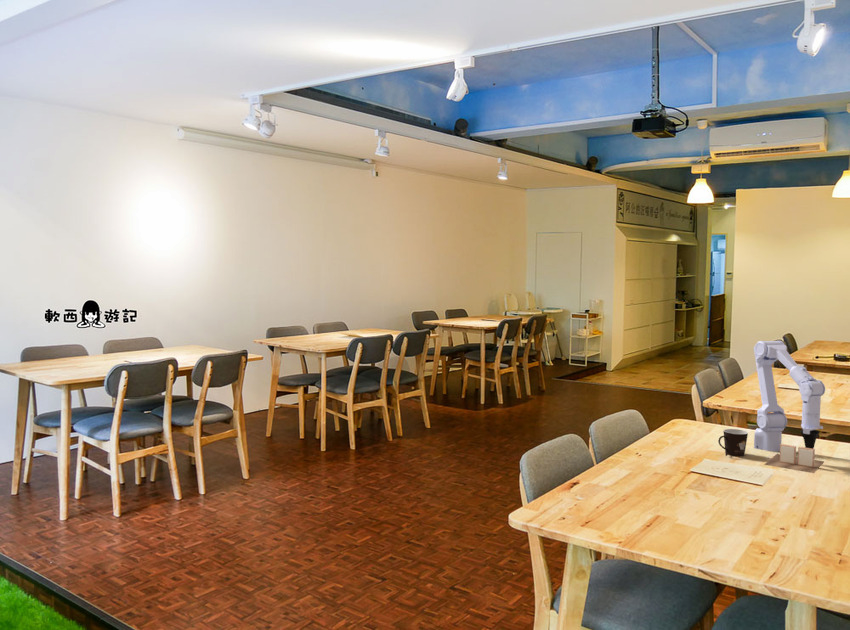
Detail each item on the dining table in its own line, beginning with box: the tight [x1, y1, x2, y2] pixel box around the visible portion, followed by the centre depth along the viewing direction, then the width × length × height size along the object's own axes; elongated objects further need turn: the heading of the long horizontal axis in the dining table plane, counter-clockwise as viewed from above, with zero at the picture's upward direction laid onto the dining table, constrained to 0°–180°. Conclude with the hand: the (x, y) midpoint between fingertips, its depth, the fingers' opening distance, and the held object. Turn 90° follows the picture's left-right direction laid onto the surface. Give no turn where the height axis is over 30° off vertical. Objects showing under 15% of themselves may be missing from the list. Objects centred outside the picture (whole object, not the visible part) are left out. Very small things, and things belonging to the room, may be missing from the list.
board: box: [763, 453, 825, 474], centre depth 250 cm, size 16×19×1 cm
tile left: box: [779, 443, 797, 465], centre depth 249 cm, size 5×2×6 cm, turn 50°
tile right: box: [797, 446, 816, 468], centre depth 246 cm, size 5×2×6 cm, turn 50°
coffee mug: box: [717, 428, 749, 458], centre depth 261 cm, size 12×9×10 cm
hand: (809, 449), depth 250 cm, fingers closed
